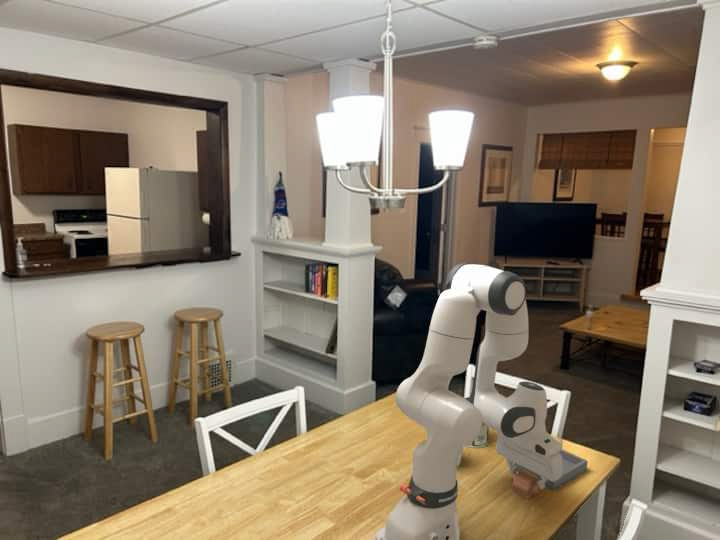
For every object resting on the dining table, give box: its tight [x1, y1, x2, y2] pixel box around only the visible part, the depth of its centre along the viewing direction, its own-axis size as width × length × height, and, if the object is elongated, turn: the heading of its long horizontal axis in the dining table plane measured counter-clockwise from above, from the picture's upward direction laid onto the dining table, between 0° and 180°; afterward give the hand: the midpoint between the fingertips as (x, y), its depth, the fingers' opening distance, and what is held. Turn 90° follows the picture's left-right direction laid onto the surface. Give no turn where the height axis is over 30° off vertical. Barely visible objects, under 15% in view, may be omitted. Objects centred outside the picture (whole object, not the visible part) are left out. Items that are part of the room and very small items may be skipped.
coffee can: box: [464, 396, 490, 449], centre depth 180 cm, size 10×10×14 cm
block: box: [512, 470, 539, 500], centre depth 151 cm, size 5×5×5 cm
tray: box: [514, 448, 588, 492], centre depth 162 cm, size 18×14×4 cm
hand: (526, 480), depth 152 cm, fingers open, 8 cm apart
